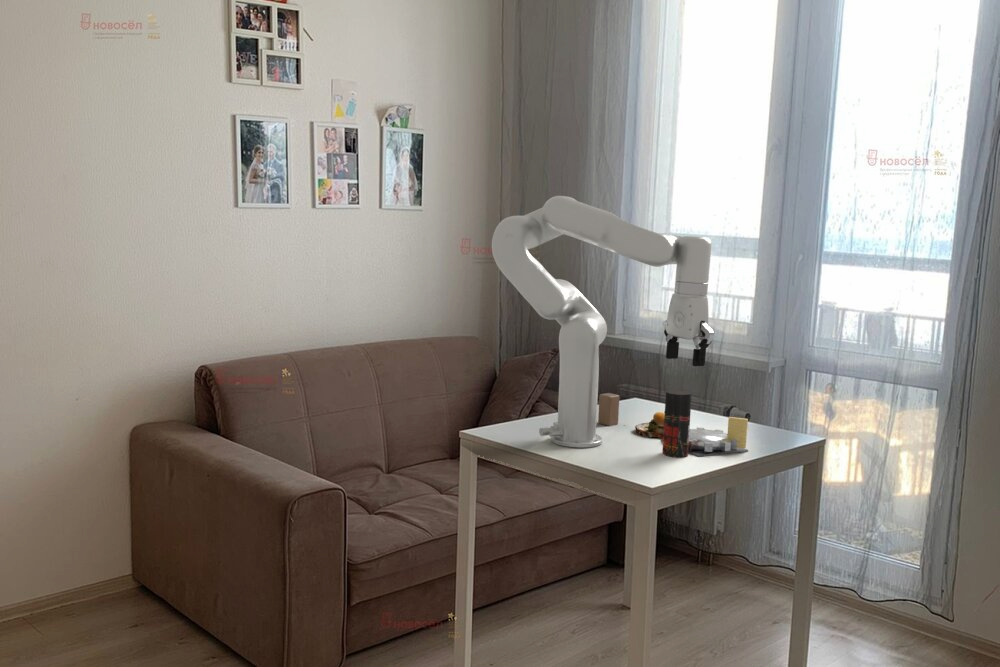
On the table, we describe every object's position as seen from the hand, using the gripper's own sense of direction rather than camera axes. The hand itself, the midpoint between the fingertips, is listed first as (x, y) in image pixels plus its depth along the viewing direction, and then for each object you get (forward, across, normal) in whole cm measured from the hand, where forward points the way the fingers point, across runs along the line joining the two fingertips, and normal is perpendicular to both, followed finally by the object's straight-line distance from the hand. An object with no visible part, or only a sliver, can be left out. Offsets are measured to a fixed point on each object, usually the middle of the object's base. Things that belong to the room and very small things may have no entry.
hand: (684, 362), depth 217 cm
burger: (+23, -17, +8) cm, 30 cm away
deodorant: (+22, +1, -2) cm, 22 cm away
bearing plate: (+22, -2, +10) cm, 24 cm away
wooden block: (+23, -31, +1) cm, 38 cm away
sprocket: (+21, -2, +11) cm, 24 cm away
